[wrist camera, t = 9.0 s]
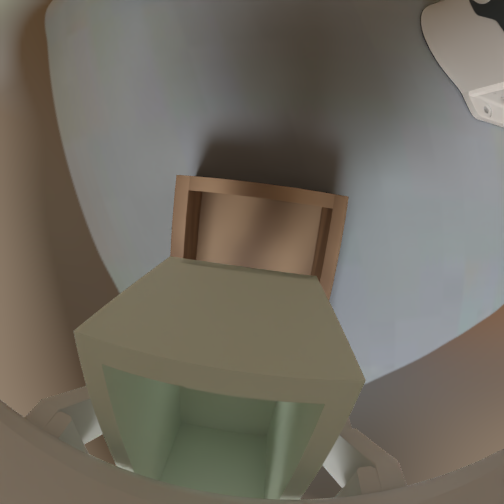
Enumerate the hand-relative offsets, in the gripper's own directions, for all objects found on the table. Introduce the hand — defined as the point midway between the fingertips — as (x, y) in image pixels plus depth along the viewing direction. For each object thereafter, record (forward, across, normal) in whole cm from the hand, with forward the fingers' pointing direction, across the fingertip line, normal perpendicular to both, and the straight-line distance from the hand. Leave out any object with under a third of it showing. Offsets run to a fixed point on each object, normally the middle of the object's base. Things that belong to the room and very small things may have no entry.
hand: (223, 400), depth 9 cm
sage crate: (+2, 0, 0) cm, 2 cm away
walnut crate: (+16, 0, 0) cm, 16 cm away
